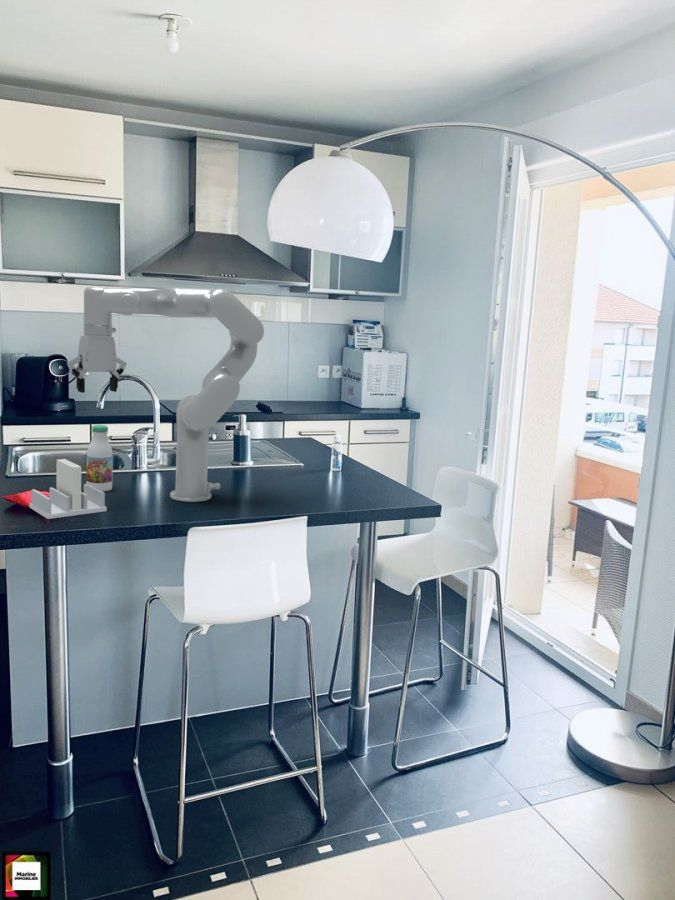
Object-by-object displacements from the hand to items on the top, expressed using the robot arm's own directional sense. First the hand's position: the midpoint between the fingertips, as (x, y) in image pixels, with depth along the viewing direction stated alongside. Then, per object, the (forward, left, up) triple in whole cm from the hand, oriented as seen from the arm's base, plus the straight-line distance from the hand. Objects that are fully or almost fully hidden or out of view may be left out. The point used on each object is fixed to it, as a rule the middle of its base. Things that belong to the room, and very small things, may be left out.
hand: (97, 391), depth 214 cm
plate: (+11, +6, -31) cm, 33 cm away
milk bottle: (-6, -11, -32) cm, 35 cm away
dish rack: (+11, +6, -32) cm, 34 cm away
